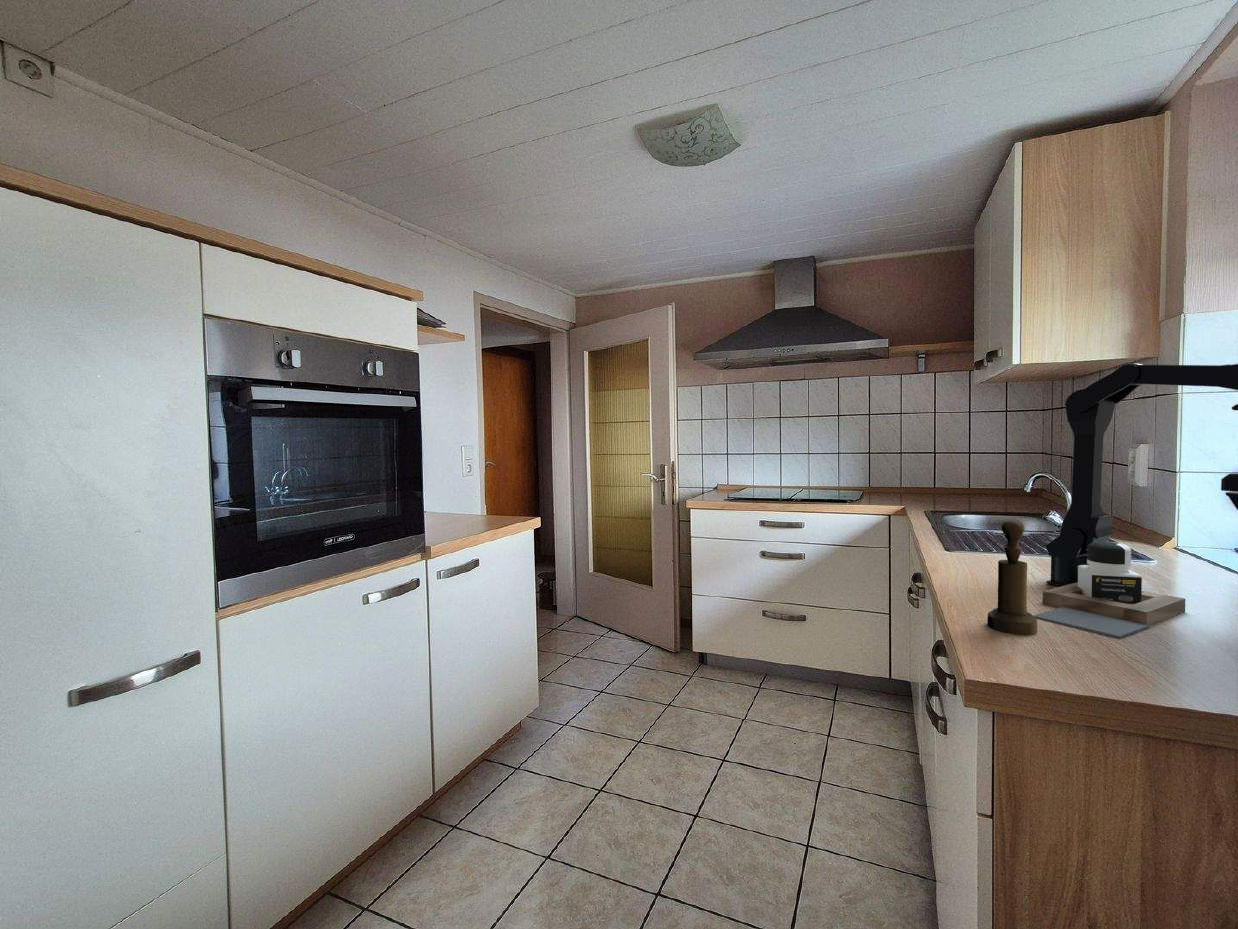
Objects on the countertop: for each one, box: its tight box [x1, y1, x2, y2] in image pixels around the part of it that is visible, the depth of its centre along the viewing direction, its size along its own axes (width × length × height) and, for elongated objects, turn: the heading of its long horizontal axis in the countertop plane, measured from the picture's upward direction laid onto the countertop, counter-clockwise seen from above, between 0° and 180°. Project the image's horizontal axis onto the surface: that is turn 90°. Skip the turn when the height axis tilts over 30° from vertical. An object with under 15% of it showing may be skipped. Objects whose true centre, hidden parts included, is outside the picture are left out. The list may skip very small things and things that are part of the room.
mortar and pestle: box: [986, 518, 1038, 636], centre depth 93 cm, size 7×6×18 cm
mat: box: [1032, 607, 1150, 640], centre depth 95 cm, size 12×10×1 cm
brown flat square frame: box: [1042, 582, 1186, 627], centre depth 103 cm, size 15×15×2 cm
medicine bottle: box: [1078, 541, 1143, 605], centre depth 105 cm, size 7×7×12 cm
